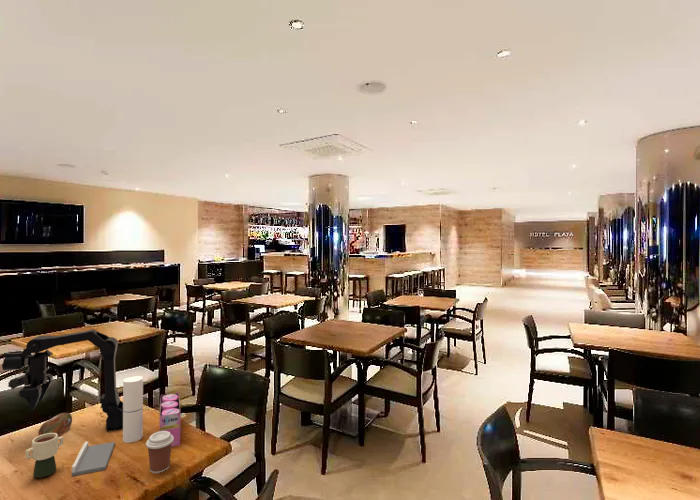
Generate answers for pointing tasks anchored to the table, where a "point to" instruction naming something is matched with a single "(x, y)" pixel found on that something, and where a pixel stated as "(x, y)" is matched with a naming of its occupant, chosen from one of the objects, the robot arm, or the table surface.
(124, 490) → the table surface
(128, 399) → the cylindrical container
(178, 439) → the gum box
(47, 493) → the table surface
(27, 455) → the character mug
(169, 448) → the coffee cup
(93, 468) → the shelf board
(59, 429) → the tin
